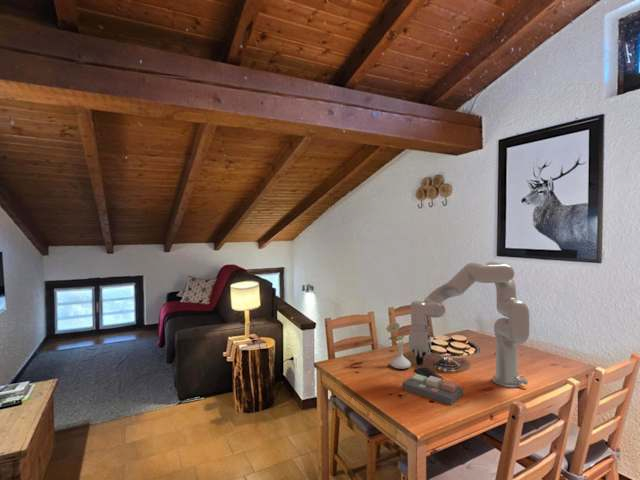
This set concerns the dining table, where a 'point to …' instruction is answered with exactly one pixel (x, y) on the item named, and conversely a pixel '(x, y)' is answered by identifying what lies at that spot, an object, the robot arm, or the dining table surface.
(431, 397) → the keypad
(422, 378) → the key sage
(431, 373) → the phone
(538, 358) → the dining table surface
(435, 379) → the key cream
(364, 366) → the dining table surface
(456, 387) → the key terracotta
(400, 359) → the flower in vase
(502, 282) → the robot arm
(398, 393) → the dining table surface
